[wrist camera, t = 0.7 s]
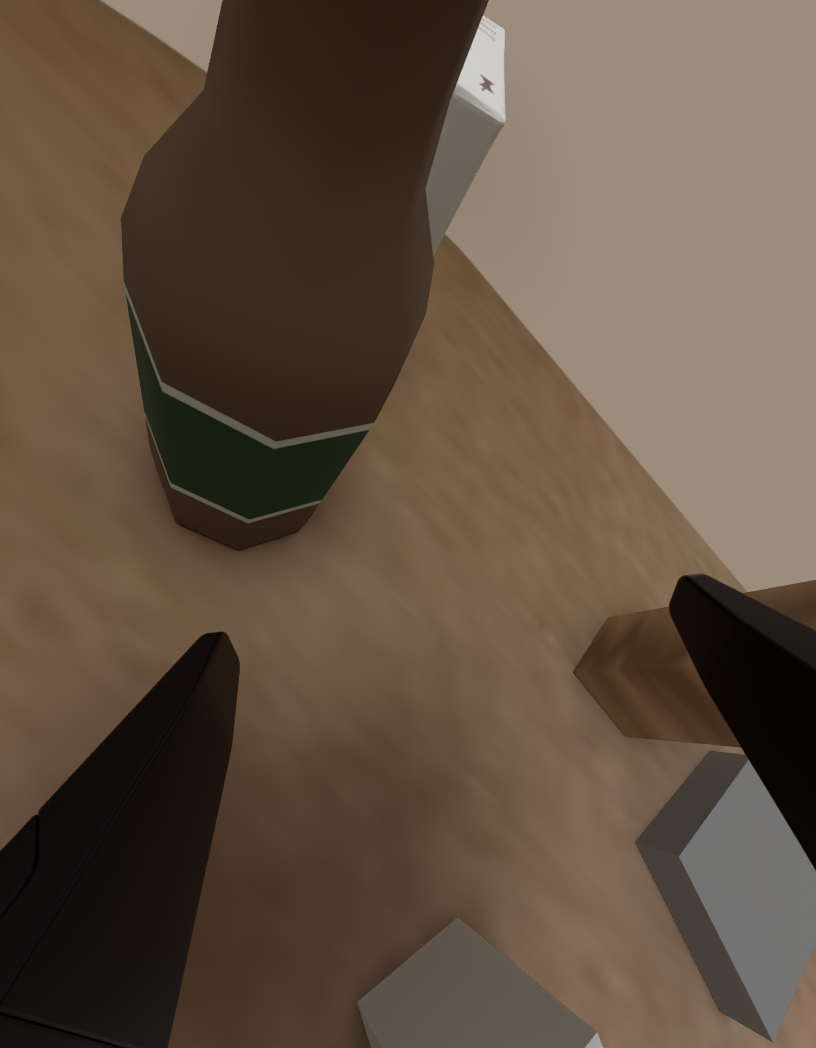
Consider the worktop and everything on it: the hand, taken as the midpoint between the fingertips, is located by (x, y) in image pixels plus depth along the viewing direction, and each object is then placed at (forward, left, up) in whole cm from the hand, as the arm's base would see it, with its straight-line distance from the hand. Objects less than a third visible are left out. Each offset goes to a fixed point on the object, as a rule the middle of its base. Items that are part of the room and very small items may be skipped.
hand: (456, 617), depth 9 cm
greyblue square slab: (-12, -25, -14) cm, 31 cm away
